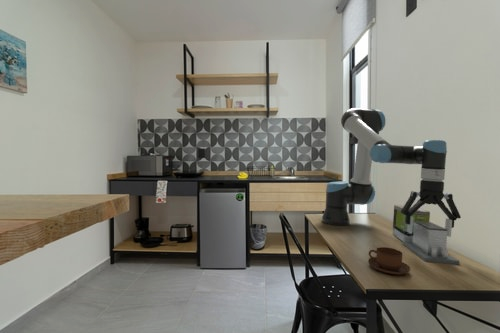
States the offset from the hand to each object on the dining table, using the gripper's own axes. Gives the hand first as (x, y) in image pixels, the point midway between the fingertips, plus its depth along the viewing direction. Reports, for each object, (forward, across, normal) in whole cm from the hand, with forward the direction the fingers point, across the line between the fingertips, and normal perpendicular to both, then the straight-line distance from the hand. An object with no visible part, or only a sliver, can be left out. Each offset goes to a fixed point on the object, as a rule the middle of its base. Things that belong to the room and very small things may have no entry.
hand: (428, 234), depth 101 cm
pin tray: (+7, 0, 0) cm, 7 cm away
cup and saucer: (+8, -21, -21) cm, 31 cm away
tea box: (+8, +1, +19) cm, 20 cm away
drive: (+6, 0, 0) cm, 6 cm away
